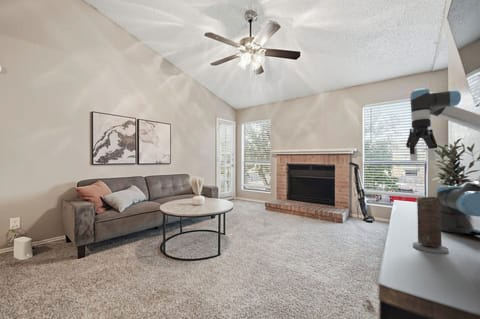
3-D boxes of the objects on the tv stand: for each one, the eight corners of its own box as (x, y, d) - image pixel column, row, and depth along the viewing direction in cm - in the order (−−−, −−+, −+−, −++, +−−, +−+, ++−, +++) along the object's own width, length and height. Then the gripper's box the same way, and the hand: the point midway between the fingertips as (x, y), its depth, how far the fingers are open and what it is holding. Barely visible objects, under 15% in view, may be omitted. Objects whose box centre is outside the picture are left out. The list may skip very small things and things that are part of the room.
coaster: (423, 243, 96) (423, 240, 96) (455, 251, 86) (455, 249, 86) (406, 246, 93) (406, 243, 93) (437, 255, 82) (437, 253, 82)
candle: (447, 250, 85) (444, 198, 86) (425, 249, 86) (422, 198, 87) (434, 243, 92) (431, 196, 93) (414, 242, 94) (412, 195, 95)
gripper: (428, 122, 120) (430, 161, 119) (396, 119, 112) (398, 161, 111) (444, 119, 113) (447, 160, 112) (412, 116, 105) (414, 160, 104)
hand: (422, 161), depth 112 cm, fingers open, 13 cm apart
